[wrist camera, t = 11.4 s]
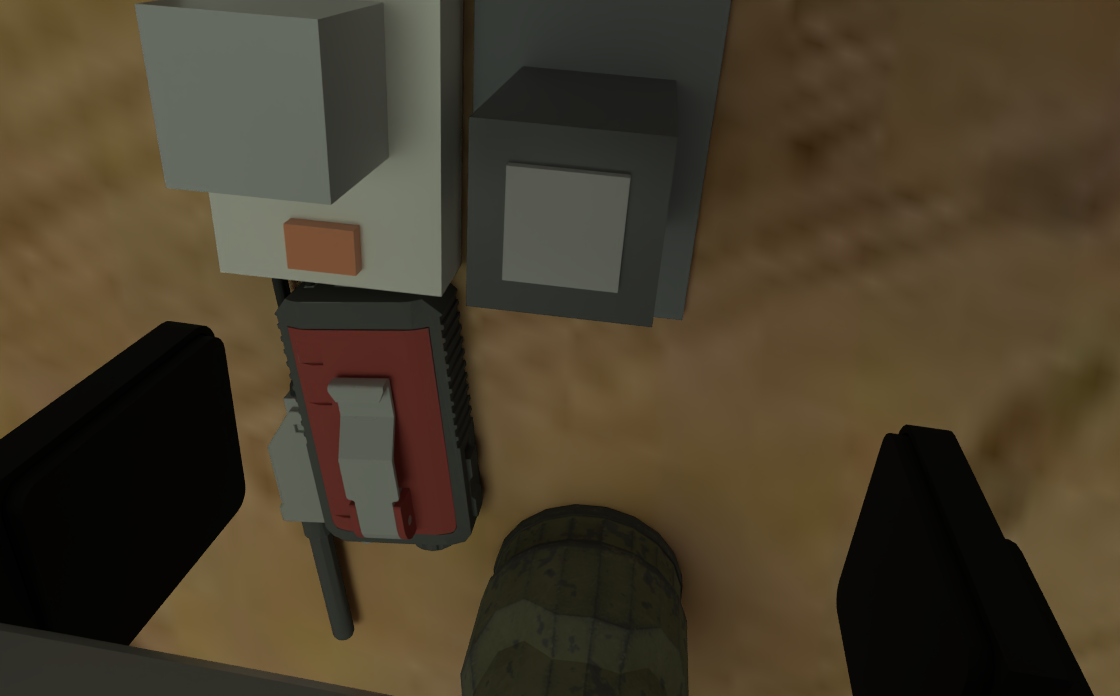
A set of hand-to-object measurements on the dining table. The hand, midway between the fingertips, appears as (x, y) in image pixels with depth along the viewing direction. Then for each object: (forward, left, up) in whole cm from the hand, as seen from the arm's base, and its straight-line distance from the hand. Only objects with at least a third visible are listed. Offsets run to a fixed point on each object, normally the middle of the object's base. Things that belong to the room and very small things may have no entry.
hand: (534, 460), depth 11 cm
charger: (+1, 0, -18) cm, 18 cm away
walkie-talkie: (+9, +15, -19) cm, 26 cm away
